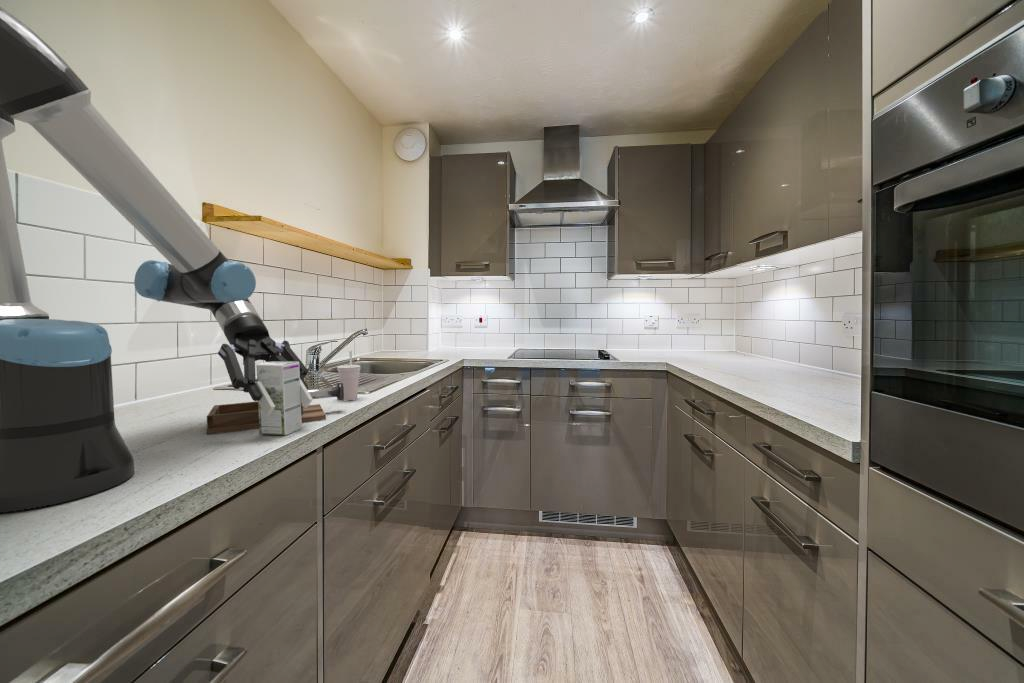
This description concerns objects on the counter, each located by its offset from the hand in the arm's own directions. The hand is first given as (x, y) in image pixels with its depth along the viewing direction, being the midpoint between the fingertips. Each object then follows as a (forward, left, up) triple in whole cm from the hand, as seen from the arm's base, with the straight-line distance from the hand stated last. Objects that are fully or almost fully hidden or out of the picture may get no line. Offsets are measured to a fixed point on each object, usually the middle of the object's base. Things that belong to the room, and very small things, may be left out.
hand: (290, 407), depth 80 cm
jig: (+16, +4, -6) cm, 17 cm away
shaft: (+16, -5, -3) cm, 17 cm away
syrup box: (+3, +2, -6) cm, 7 cm away
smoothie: (+30, -16, -6) cm, 34 cm away
